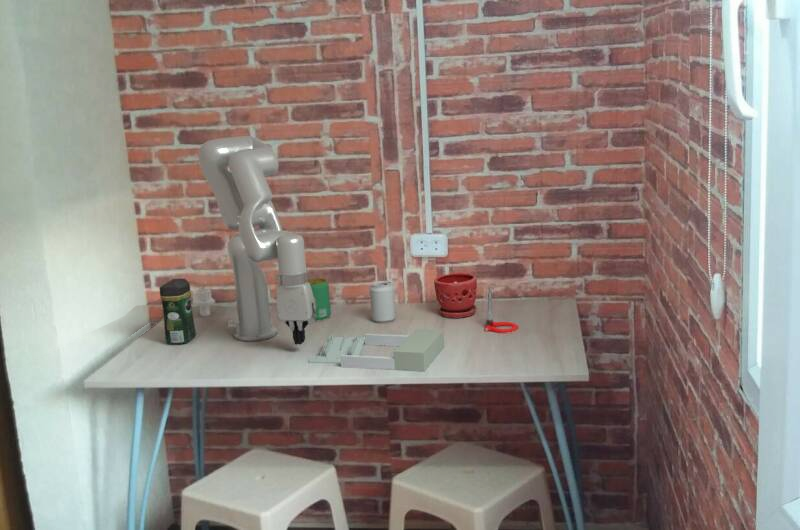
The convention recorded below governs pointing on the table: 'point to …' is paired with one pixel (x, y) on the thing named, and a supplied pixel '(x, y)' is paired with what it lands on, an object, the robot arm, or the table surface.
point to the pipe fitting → (203, 301)
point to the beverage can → (321, 298)
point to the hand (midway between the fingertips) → (299, 342)
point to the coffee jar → (177, 311)
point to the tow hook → (491, 323)
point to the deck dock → (401, 351)
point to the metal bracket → (338, 349)
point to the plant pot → (456, 294)
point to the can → (382, 302)
